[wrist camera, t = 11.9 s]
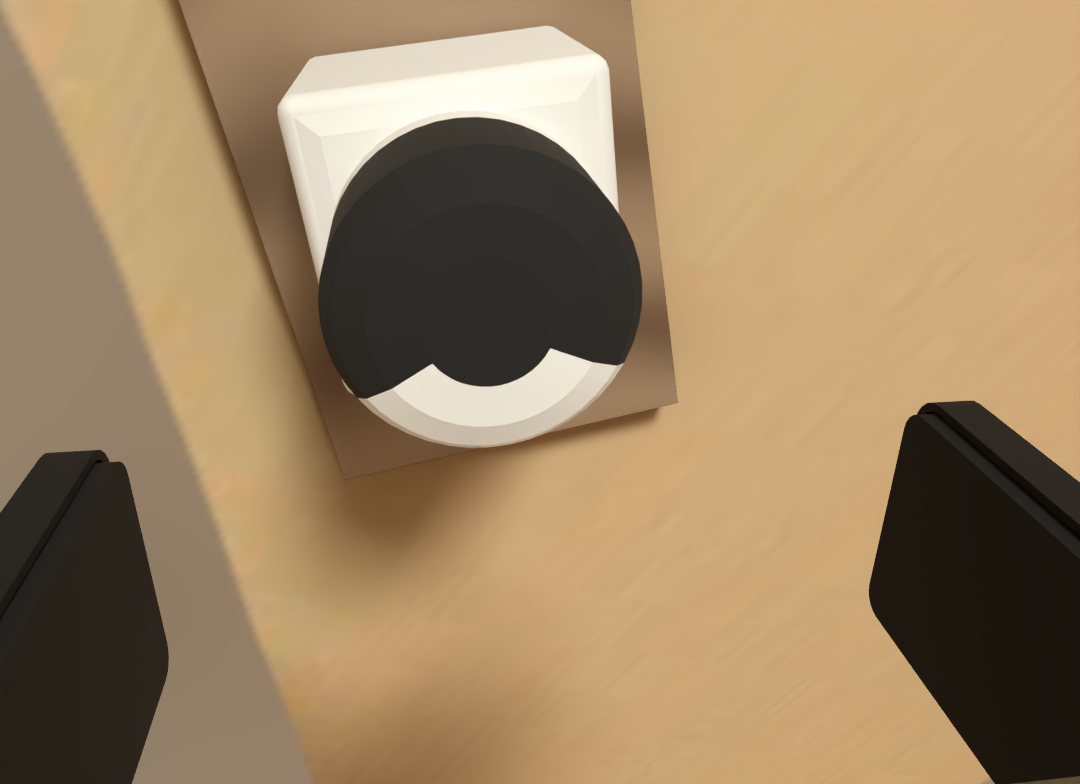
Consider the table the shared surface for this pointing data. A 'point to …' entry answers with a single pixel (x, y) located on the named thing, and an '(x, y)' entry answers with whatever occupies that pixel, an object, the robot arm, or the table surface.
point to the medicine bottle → (466, 230)
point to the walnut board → (260, 156)
